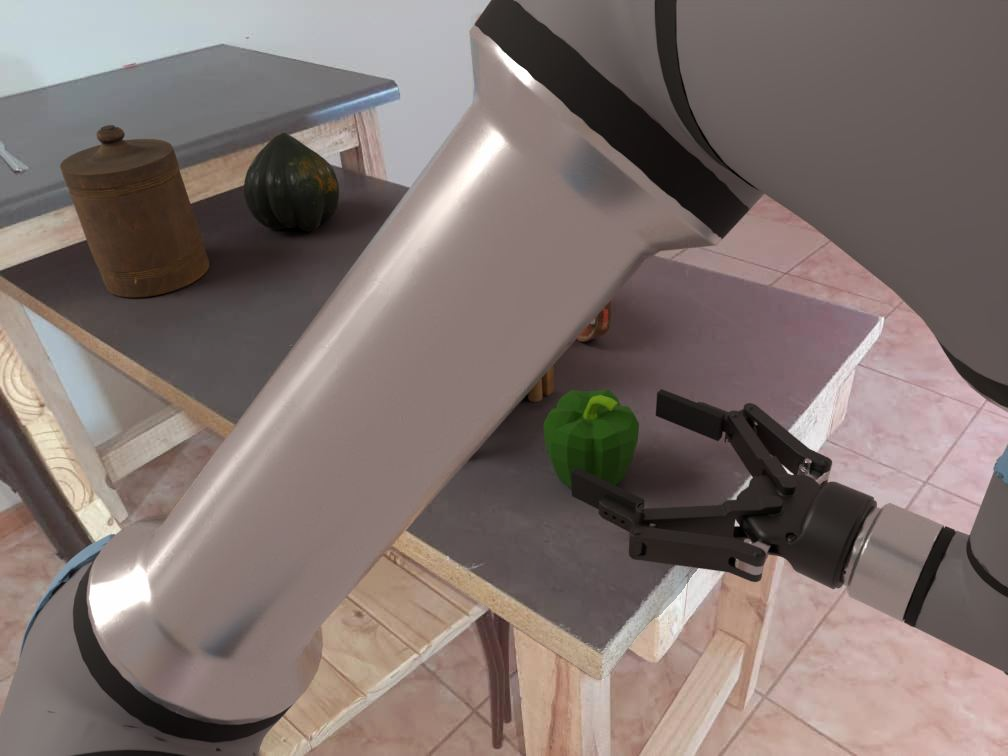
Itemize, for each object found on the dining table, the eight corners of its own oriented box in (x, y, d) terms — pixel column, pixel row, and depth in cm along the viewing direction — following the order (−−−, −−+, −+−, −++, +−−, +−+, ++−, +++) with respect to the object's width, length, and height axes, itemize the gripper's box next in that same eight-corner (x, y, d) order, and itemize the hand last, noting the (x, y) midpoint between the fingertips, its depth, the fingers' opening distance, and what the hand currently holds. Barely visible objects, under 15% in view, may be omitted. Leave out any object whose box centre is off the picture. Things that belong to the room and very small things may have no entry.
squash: (281, 222, 116) (310, 127, 116) (214, 210, 123) (242, 120, 123) (341, 252, 128) (368, 165, 129) (278, 239, 135) (303, 157, 136)
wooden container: (182, 244, 124) (137, 104, 112) (227, 271, 115) (184, 122, 103) (89, 278, 116) (30, 131, 104) (130, 309, 107) (70, 153, 95)
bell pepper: (530, 466, 76) (526, 383, 70) (600, 438, 79) (602, 355, 73) (576, 519, 70) (576, 432, 64) (651, 486, 73) (657, 400, 67)
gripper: (783, 697, 52) (533, 553, 64) (904, 490, 67) (685, 404, 79) (801, 626, 48) (530, 485, 59) (926, 422, 63) (691, 342, 75)
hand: (618, 439), depth 69 cm, fingers open, 13 cm apart
